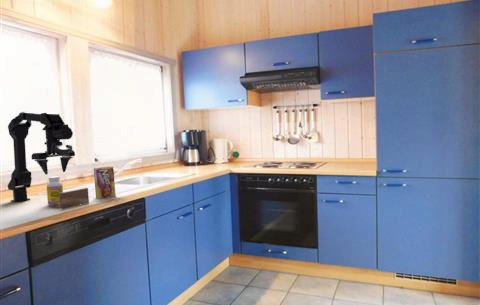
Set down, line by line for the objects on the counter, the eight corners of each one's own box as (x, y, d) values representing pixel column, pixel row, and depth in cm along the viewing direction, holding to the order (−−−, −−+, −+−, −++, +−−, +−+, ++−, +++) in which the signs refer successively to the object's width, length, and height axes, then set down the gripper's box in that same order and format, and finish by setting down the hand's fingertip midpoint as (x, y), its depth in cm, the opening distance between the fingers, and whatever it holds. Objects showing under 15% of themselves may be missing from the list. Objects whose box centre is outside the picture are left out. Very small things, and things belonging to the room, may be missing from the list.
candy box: (112, 195, 190) (111, 166, 189) (116, 196, 187) (114, 166, 186) (95, 198, 185) (93, 167, 184) (98, 199, 181) (96, 168, 180)
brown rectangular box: (47, 207, 165) (46, 192, 165) (74, 201, 178) (73, 187, 177) (62, 209, 161) (61, 193, 160) (88, 202, 173) (87, 188, 172)
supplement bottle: (49, 206, 168) (47, 178, 168) (46, 204, 174) (44, 177, 173) (65, 203, 172) (63, 176, 171) (62, 201, 178) (60, 175, 177)
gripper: (45, 140, 158) (48, 176, 160) (81, 138, 175) (84, 171, 176) (29, 141, 163) (32, 175, 165) (66, 139, 180) (68, 170, 181)
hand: (55, 173), depth 171 cm, fingers open, 9 cm apart
